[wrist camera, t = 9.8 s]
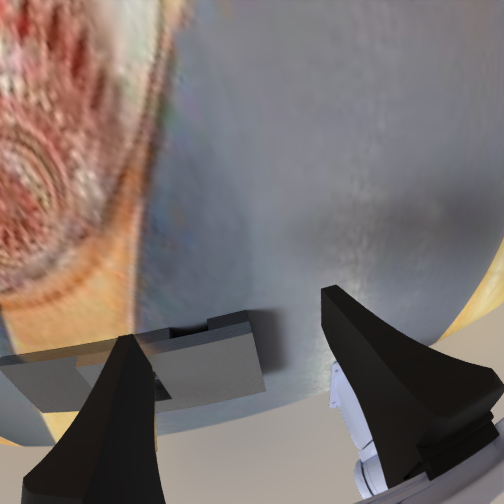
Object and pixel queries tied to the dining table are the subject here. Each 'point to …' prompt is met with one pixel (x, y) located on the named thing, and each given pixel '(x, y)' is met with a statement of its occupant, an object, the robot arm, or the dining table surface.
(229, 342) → the link
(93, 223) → the dining table surface
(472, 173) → the dining table surface
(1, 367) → the link
